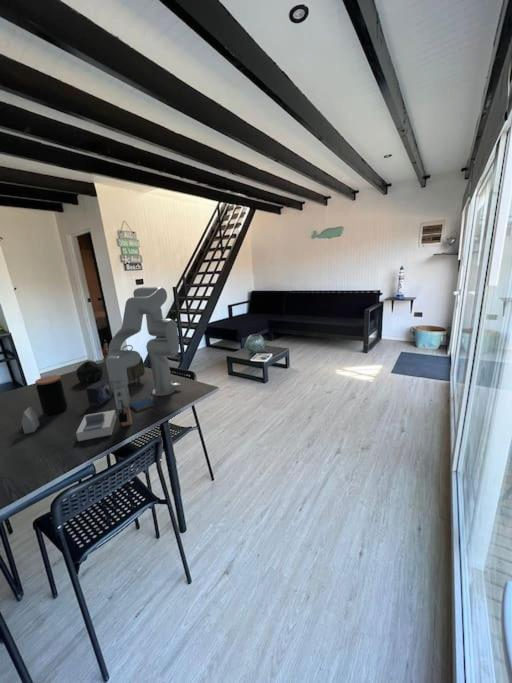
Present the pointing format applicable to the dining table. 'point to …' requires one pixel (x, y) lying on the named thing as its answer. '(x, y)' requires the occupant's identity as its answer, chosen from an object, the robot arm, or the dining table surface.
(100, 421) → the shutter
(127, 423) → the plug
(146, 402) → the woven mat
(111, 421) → the socket block
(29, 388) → the dining table surface
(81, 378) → the squash
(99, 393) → the small box
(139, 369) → the tabletop clock
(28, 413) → the grey faceted stone
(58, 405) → the coffee jar
